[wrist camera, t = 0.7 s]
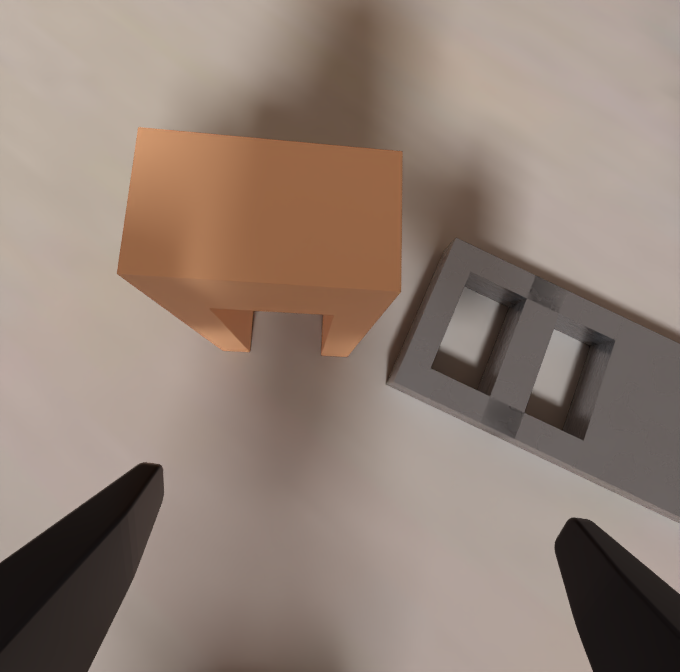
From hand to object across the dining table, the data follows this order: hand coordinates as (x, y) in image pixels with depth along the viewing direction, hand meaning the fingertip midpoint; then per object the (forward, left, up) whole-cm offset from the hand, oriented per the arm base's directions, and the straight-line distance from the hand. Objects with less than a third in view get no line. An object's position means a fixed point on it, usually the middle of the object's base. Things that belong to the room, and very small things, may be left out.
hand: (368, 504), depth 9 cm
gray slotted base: (+14, -2, -14) cm, 20 cm away
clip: (0, +8, -14) cm, 16 cm away
